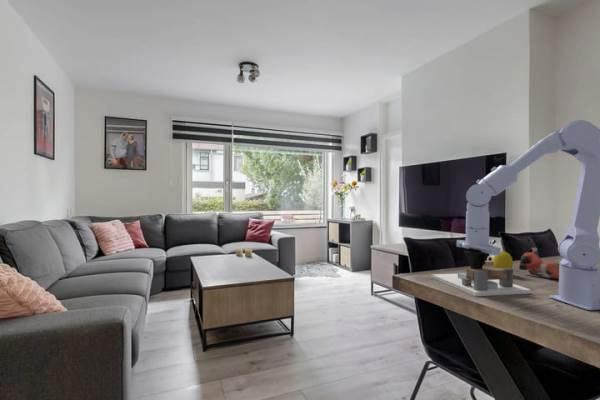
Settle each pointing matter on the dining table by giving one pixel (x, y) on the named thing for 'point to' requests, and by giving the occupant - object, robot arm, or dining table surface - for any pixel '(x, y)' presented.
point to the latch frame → (479, 284)
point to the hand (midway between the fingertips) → (476, 276)
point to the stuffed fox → (539, 265)
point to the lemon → (503, 260)
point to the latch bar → (495, 275)
